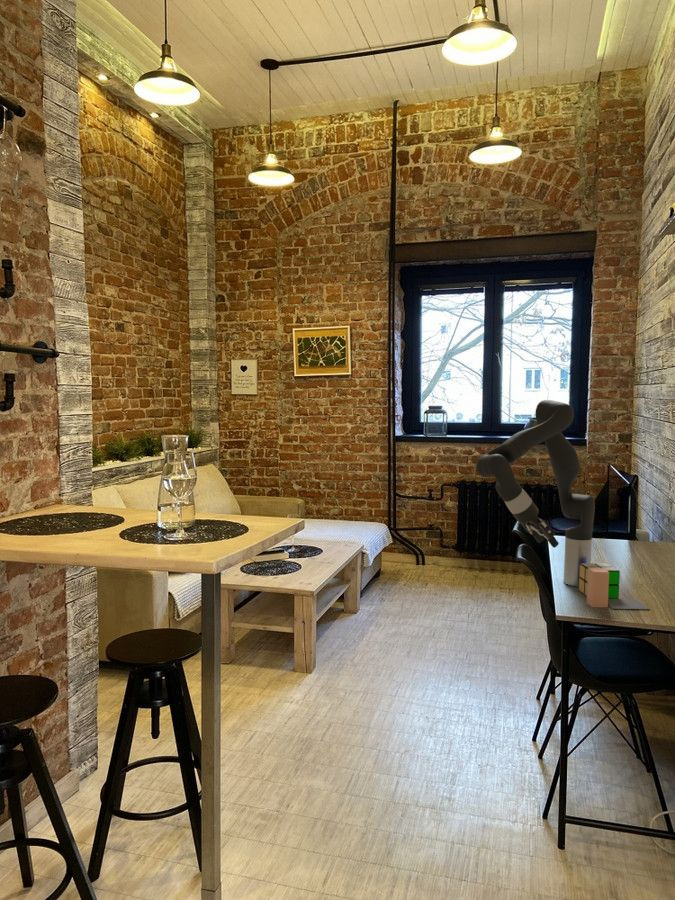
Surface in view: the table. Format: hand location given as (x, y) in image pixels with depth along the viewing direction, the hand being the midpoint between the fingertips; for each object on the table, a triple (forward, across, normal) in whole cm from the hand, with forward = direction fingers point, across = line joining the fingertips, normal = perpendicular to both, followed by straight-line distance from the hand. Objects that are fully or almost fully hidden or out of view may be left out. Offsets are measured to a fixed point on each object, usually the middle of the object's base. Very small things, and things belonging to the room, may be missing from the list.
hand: (548, 543), depth 208 cm
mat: (+34, -2, -8) cm, 35 cm away
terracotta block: (+28, 0, -1) cm, 28 cm away
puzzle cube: (+33, +10, -7) cm, 35 cm away
